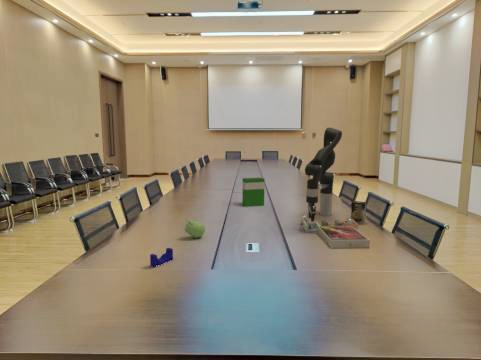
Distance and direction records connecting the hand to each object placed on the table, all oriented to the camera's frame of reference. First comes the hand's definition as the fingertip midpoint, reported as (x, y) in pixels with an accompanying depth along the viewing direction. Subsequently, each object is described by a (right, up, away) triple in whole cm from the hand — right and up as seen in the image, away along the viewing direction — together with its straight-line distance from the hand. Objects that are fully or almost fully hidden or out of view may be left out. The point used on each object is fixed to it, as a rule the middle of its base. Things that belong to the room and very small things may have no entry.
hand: (311, 219), depth 219 cm
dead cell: (+25, -6, 0) cm, 26 cm away
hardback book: (-35, +3, +74) cm, 82 cm away
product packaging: (+14, -11, -20) cm, 26 cm away
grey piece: (+13, -7, 0) cm, 15 cm away
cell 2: (0, -6, +1) cm, 6 cm away
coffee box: (+35, -5, +14) cm, 38 cm away
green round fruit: (-75, -10, -16) cm, 77 cm away
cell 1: (-3, -5, +13) cm, 14 cm away
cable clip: (-86, -15, -55) cm, 103 cm away
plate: (+13, -5, 0) cm, 14 cm away
